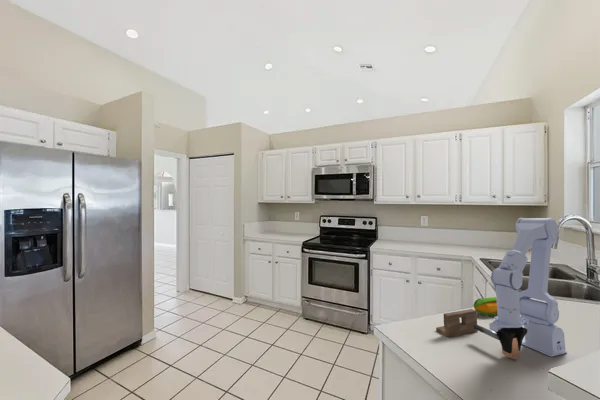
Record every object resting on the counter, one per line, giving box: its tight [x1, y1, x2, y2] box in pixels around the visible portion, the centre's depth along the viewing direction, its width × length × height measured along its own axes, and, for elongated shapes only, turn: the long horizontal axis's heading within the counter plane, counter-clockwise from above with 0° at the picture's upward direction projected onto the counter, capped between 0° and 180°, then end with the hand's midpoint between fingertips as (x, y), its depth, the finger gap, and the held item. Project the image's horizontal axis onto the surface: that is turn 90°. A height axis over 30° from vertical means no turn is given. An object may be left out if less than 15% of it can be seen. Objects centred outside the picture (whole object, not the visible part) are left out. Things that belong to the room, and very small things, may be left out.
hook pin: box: [474, 323, 520, 360], centre depth 86 cm, size 13×3×6 cm, turn 16°
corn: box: [472, 296, 498, 316], centre depth 116 cm, size 7×8×20 cm
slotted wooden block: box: [435, 308, 479, 339], centre depth 100 cm, size 6×14×8 cm, turn 106°
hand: (511, 350), depth 80 cm, fingers closed on hook pin, 3 cm apart
